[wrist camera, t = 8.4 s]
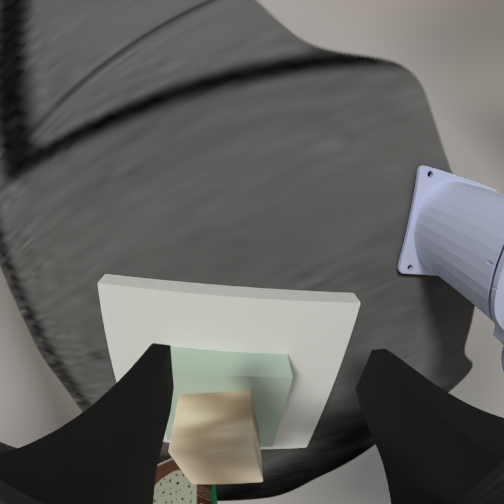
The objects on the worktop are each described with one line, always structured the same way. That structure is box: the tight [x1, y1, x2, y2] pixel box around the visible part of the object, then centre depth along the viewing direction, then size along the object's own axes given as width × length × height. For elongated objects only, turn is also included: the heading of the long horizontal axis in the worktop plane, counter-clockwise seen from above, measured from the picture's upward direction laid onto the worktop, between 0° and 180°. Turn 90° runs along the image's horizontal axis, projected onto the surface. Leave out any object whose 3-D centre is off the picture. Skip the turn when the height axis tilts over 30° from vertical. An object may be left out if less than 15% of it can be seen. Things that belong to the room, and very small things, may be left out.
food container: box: [153, 458, 217, 504], centre depth 24 cm, size 12×6×10 cm, turn 136°
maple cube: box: [168, 389, 263, 484], centre depth 17 cm, size 5×5×5 cm
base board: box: [98, 274, 361, 449], centre depth 21 cm, size 18×18×4 cm
